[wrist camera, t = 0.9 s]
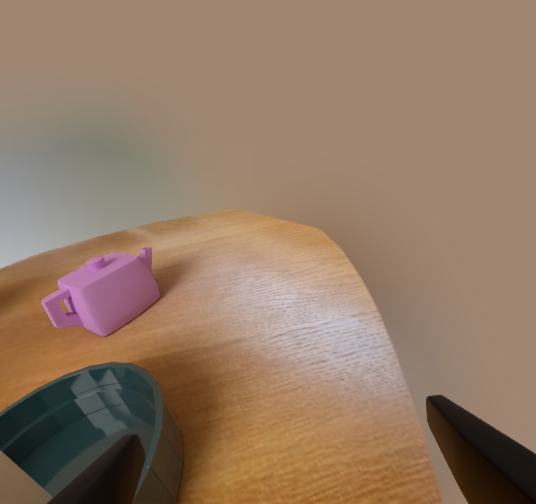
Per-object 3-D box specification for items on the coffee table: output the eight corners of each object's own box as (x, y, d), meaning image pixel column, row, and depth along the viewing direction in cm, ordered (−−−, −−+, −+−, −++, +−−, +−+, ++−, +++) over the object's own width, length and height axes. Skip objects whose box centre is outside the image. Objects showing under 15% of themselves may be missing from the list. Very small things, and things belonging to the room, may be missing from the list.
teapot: (149, 277, 56) (129, 232, 51) (182, 285, 50) (162, 235, 45) (55, 336, 43) (17, 283, 38) (85, 356, 37) (44, 297, 33)
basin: (217, 539, 18) (192, 501, 16) (-202, 920, 10) (-375, 959, 8) (161, 368, 33) (144, 335, 30) (-31, 476, 25) (-74, 443, 23)
